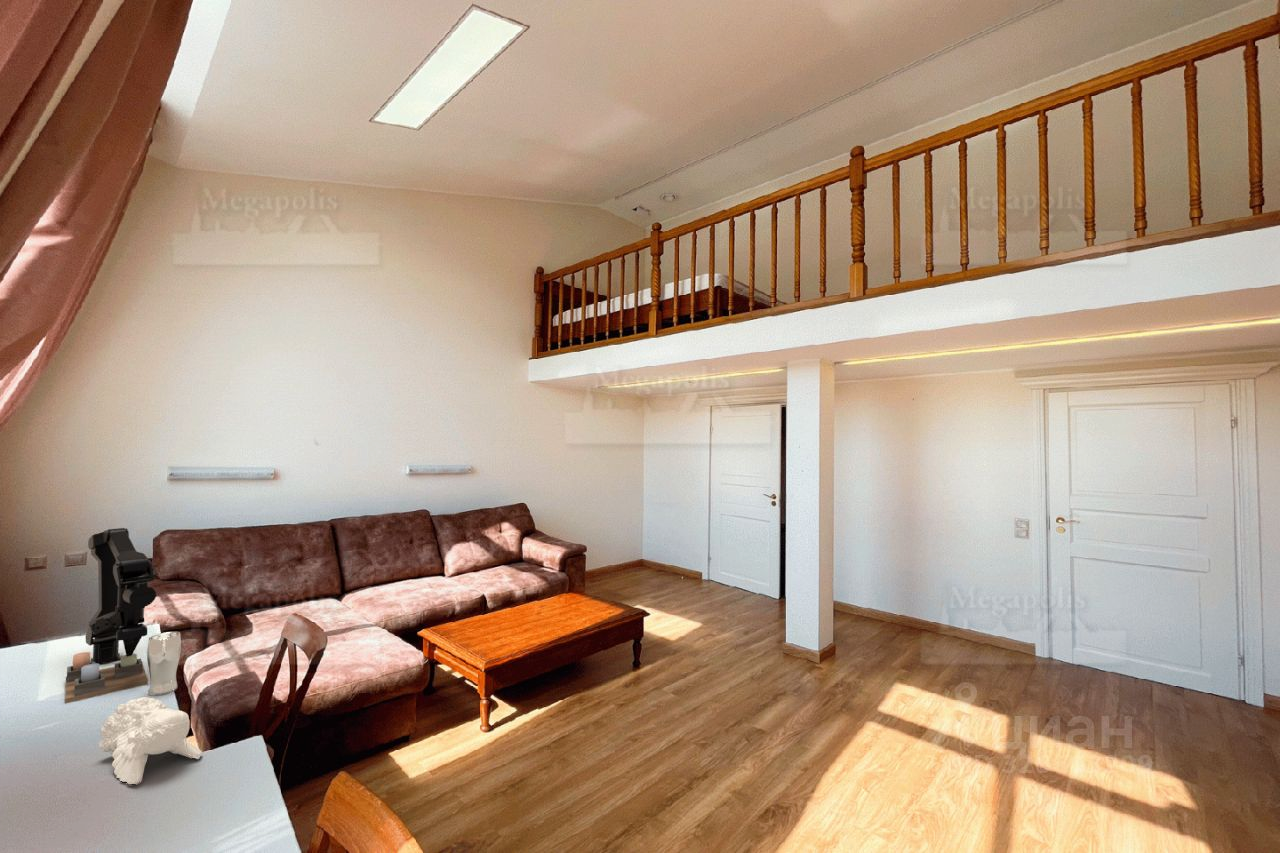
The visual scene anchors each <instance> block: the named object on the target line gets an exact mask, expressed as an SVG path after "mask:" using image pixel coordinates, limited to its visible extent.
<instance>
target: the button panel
mask: <svg viewBox="0 0 1280 853" xmlns="http://www.w3.org/2000/svg"><path fill="white" fill-rule="evenodd" d="M90 664H95V661H94V662H91V661H90ZM148 681H149V679H148V677H147V673H146V670H145V667H144V663H143V661H142V658H137V664H136V665H131V666H126V667H121V662H117V663H114V666H111V667H106V668H101V669H99V680H94V681H90V682H85V683H81V669H79V670H74V671H73V665H69V666H67V668H66V676H65V688H64V692H65V693H64V694H65V695H64V704H69V703H72V702H77V701H81V700H85V699H90V698H95V697H98V696H99V697H100V696H103V695H107V694H113V693H116V692H120V691H123V690H128V689H132V688H133V689H134V688H137V687H142V686H146V685H148V684H149V682H148ZM102 694H103V695H102ZM94 696H95V697H94Z"/></svg>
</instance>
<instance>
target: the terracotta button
mask: <svg viewBox="0 0 1280 853" xmlns="http://www.w3.org/2000/svg"><path fill="white" fill-rule="evenodd" d="M90 662H91V652H89V651H85V652H80V653H75V654H73V655H72V666H73V671H74V670H79V669H81V668H82V667H83V666H85V665H89V664H90Z"/></svg>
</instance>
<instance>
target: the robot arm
mask: <svg viewBox="0 0 1280 853" xmlns="http://www.w3.org/2000/svg"><path fill="white" fill-rule="evenodd" d="M129 533H130V532H129V530H128V528H125V527H120V528H119V527H118V528H108V529H107V530H104V531H103V532H99V533H94V534H92V535H91V536H90V537H89V538H88V544H87V545H88V546H87V547H88V550H90V555H91V556H92V557H93V559H95V560H96V562H97V564H98V566H97V567H98V569H97V570H98V571H97V577H98V583H97V584H98V585H97V586H98V588H97V589H98V610H97V611H96V613H94V615H93V616H92V618H91V620H90V621H89V622H88V629H87V631H86V634H85V643H86V645H88V646H93V647H92V658H91V657H90V662H94V661H95V663H98V664H99V665H103V664H106V663H111V662H117V661H121V654H120V652H119V646H120V643H119V642H120V641H122V643H123V647H124V651H125V655H126V656H131V655H132V654H134V652H135V650H136V649H137V647H138V644H139V642H140V641H141V640H142V638H143V637H146V636H148V627H147V626H148V625H146V624H144V623H145V609H146V607H148V606H149V605H152V603H153V602H155V600H156V598H157V593H156V590H155V589H154V588H153V587H151V586H149V585H148V582H154V581H155V577H156V571H155V568H154V565H153V562H152V561H151V560H150V559H149V558H148V556H146V554H145V553H143V552H139V551H137V550H136V548H135V546H134V544H133V542H132V540H131V539H130V534H129Z"/></svg>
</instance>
